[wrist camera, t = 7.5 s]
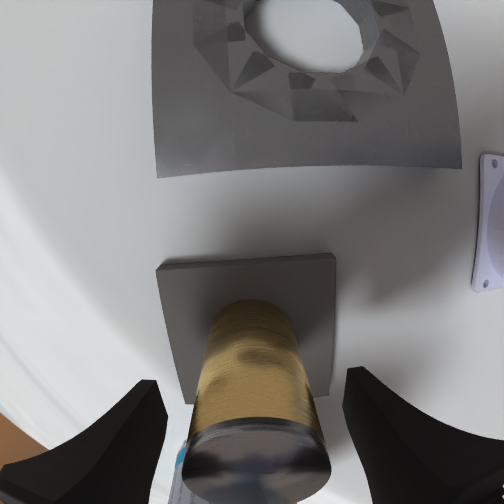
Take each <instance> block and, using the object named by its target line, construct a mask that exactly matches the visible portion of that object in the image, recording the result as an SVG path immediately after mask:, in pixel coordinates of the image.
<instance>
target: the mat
mask: <svg viewBox="0 0 504 504" xmlns="http://www.w3.org/2000/svg"><path fill="white" fill-rule="evenodd" d="M156 277H157V282H158V288H159V293H160V299H161V304H162V309H163V314H164V319H165V323H166V328H167V333H168V337H169V341H170V346H171V350H172V354H173V358H174V363H175V367H176V371H177V375H178V378H179V382H180V386H181V390H182V393H183V397H184V401H185V404H194V403H195V398H196V393H197V388H198V383H199V378H200V373H201V368H202V363H203V359H204V354H205V349H206V344H207V340H208V335H209V330H210V326H211V323H212V321H213V319H214V318H215V316H216V315H217V314H218V313H219V312H220V311H221V310H222V309H223V308H224V307H226V306H228V305H229V304H231V303H234V302H237V301H240V300H245V299H258V300H264V301H267V302H270V303H272V304H274V305H276V306H278V307H279V308H280V309H282V310H283V311H284V312H285V313H286V314H287V316H288V317H289V319H290V321H291V323H292V326H293V329H294V333H295V336H296V340H297V343H298V347H299V350H300V354H301V358H302V361H303V365H304V368H305V372H306V375H307V379H308V383H309V386H310V390H311V393H312V397H320V396H327V395H329V388H330V377H331V366H332V353H333V338H334V319H335V295H336V257H335V256H334V255H333V254H332V253H324V254H311V255H297V256H284V257H270V258H256V259H242V260H228V261H214V262H199V263H185V264H170V265H160V266H159V267H158V268H157V269H156Z"/></svg>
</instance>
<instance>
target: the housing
mask: <svg viewBox="0 0 504 504" xmlns="http://www.w3.org/2000/svg"><path fill="white" fill-rule="evenodd" d="M256 1H257V0H153V14H152V105H153V126H154V143H155V156H156V169H157V178H165V177H173V176H182V175H190V174H200V173H209V172H220V171H232V170H244V169H258V168H275V167H296V166H329V165H383V166H415V167H434V168H450V169H462V161H461V142H460V129H459V119H458V110H457V102H456V95H455V89H454V83H453V77H452V72H451V67H450V62H449V57H448V53H447V48H446V44H445V40H444V36H443V32H442V29H441V25H440V22H439V18H438V15H437V12H436V9H435V6H434V3H433V0H334V1H336V2H338V3H340V4H341V5H342V6H343V7H344V8H345V9H346V11H347V12H348V13H349V14H350V15H351V16H352V18H353V19H354V20H355V21H356V22H357V24H358V25H359V28H360V33H361V38H362V43H363V49H364V51H363V54H362V56H361V58H360V60H359V62H358V64H357V66H355V67H353V68H351V69H349V70H347V71H345V72H343V73H341V74H335V73H305V72H301V71H299V70H297V69H295V68H293V67H290V66H288V65H286V64H284V63H282V62H280V61H277V60H275V59H273V58H271V57H268V56H267V55H266V54H265V53H264V52H263V50H262V49H261V48H260V47H259V46H258V44H257V43H256V42H255V41H254V40H253V38H252V37H251V36H250V35H249V34H248V33H247V31H246V30H245V27H244V19H245V18H246V16H247V15H248V13H249V12H250V10H251V9H252V7H253V6H254V4H255V3H256Z"/></svg>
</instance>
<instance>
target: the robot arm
mask: <svg viewBox="0 0 504 504" xmlns="http://www.w3.org/2000/svg"><path fill="white" fill-rule="evenodd" d="M492 161H493V166H492ZM484 281H485V282H484ZM483 283H484V284H483ZM501 287H504V157H503V156H498V155H492V154H483V155H482V156H481V158H480V214H479V229H478V241H477V250H476V259H475V266H474V273H473V280H472V289H473V290H474V291H475V292H483V291H488V290H492V289H497V288H501ZM342 407H343V411H344V415H345V420H346V423H347V427H348V430H349V433H350V435H351V438H352V440H353V443H354V445H355V448H356V450H357V453H358V456H359V458H360V461H361V463H362V466H363V468H364V471H365V474H366V477H367V480H368V485H369V489H370V493H371V497H372V502H373V504H504V499H503V497H502V496H503V495H504V488H503V484H504V440H498V439H492V438H486V437H482V436H478V435H475V434H471V433H468V432H465V431H462V430H459V429H457V428H454V427H452V426H449V425H447V424H445V423H443V422H440V421H438V420H436V419H435V418H433V417H431V416H429V415H427V414H425V413H424V412H422V411H420V410H419V409H417V408H416V407H414V406H413V405H411V404H410V403H408V402H407V401H405V400H404V399H402V398H401V397H400V396H398V395H397V394H396V393H394V392H393V391H392V390H391V389H389V388H388V387H387V386H386V385H384V384H383V383H382V382H381V381H380V380H378V379H377V378H376V377H375V376H374V375H373V374H371V373H370V372H369V371H368V370H367V369H366V368H364V367H363V366H360V367H354V368H348V369H347V377H346V384H345V392H344V399H343V405H342ZM167 421H168V415H167V412H166V409H165V406H164V403H163V400H162V397H161V394H160V391H159V388H158V385H157V381H156V380H141V381H139V382H138V383H137V384H136V385H135V386H134V387H133V388H132V389H131V390H130V391H129V392H128V393H127V394H126V395H125V396H124V397H123V398H122V399H121V400H120V401H119V402H118V403H116V404H115V405H114V406H113V407H112V408H111V409H110V410H109V411H108V412H107V413H105V414H104V415H103V416H102V417H101V418H99V419H98V420H97V421H96V422H95V423H93V424H92V425H91V426H89V427H88V428H87V429H85V430H84V431H83V432H81V433H80V434H78V435H76V436H75V437H73V438H72V439H70V440H68V441H67V442H65V443H63V444H61V445H59V446H57V447H55V448H53V449H51V450H49V451H47V452H45V453H42V454H40V455H37V456H34V457H32V458H29V459H26V460H22V461H18V462H15V463H11V464H6V465H4V466H3V468H2V469H1V471H0V500H1V501H2V502H3V503H4V504H148V503H149V496H150V489H151V485H152V481H153V477H154V474H155V470H156V467H157V463H158V460H159V457H160V453H161V450H162V447H163V443H164V440H165V435H166V428H167Z"/></svg>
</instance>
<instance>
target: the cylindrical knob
mask: <svg viewBox="0 0 504 504" xmlns="http://www.w3.org/2000/svg"><path fill="white" fill-rule="evenodd" d="M181 475H182V480H183V482H184V484H185V485H186V486H187V488H188V489H189V490H190V491H191V492H193V493H194V494H195V495H197V496H198V497H200V498H202V499H204V500H206V501H208V502H211V503H214V504H293V503H296V502H299V501H301V500H304V499H306V498H308V497H310V496H311V495H313V494H315V493H316V492H317V491H319V490H320V489H321V488H322V487H323V486H324V485H325V484H326V483H327V481H328V480H329V478H330V475H331V464H330V460H329V456H328V453H327V449H326V445H325V441H324V438H323V434H322V430H321V426H320V423H319V419H318V415H317V412H316V408H315V404H314V401H313V397H312V393H311V390H310V386H309V383H308V379H307V375H306V372H305V368H304V365H303V361H302V358H301V354H300V350H299V347H298V343H297V340H296V336H295V333H294V329H293V326H292V323H291V321H290V319H289V317H288V316H287V314H286V313H285V312H284V311H283V310H282V309H280V308H279V307H278V306H276V305H274V304H272V303H270V302H267V301H264V300H258V299H245V300H240V301H237V302H234V303H231V304H229V305H228V306H226V307H224V308H223V309H222V310H221V311H220V312H219V313H218V314H217V315H216V316H215V318H214V319H213V321H212V323H211V326H210V330H209V335H208V340H207V344H206V349H205V354H204V359H203V363H202V368H201V373H200V378H199V383H198V388H197V393H196V398H195V403H194V408H193V413H192V418H191V423H190V428H189V434H188V439H187V444H186V450H185V455H184V460H183V466H182V473H181Z"/></svg>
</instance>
